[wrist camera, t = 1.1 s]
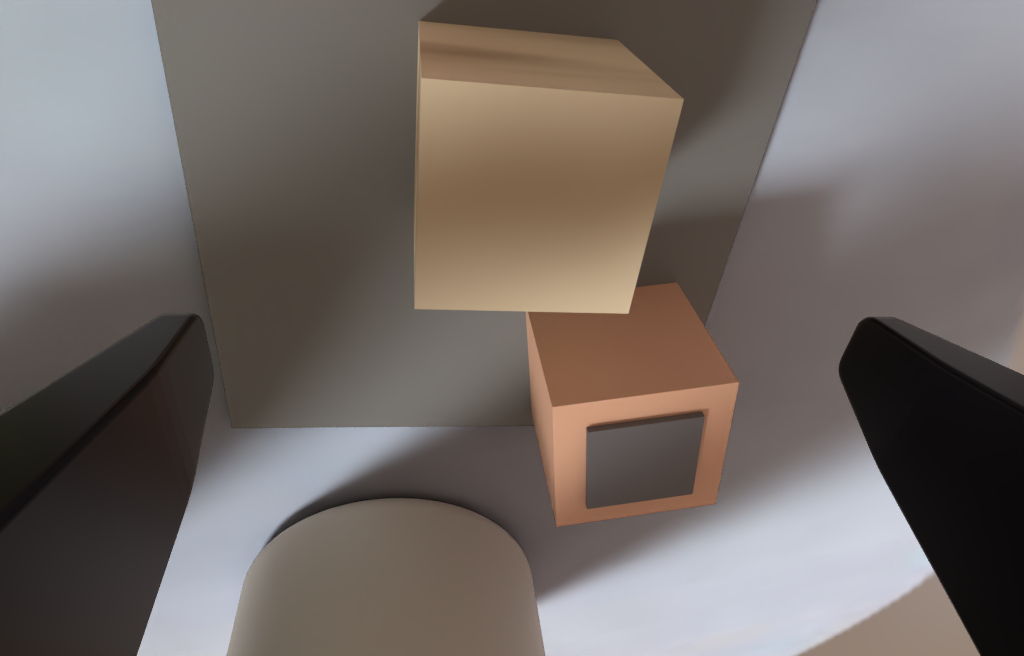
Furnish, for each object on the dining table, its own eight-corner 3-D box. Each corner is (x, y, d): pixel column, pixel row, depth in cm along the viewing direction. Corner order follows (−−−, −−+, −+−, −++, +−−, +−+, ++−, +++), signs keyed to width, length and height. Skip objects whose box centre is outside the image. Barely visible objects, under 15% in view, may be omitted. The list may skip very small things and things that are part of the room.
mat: (667, 417, 25) (670, 424, 25) (234, 419, 23) (231, 428, 22) (944, -403, 13) (958, -410, 12) (44, -613, 10) (32, -629, 10)
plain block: (583, 218, 19) (628, 313, 15) (413, 210, 19) (414, 308, 15) (617, 39, 16) (683, 99, 12) (418, 21, 16) (421, 78, 12)
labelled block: (665, 395, 24) (718, 508, 20) (531, 413, 24) (557, 532, 20) (676, 282, 21) (742, 386, 17) (524, 300, 21) (553, 412, 17)
